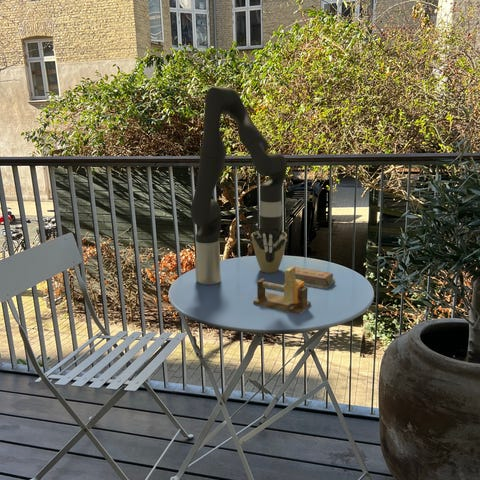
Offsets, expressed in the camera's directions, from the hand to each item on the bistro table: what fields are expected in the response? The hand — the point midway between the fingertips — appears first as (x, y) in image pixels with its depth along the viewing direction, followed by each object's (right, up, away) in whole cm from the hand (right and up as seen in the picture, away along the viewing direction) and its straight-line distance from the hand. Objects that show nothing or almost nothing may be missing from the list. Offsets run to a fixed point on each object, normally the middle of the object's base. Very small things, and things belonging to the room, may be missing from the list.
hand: (269, 261), depth 158 cm
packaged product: (+17, -10, +23) cm, 30 cm away
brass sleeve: (+8, -13, -1) cm, 15 cm away
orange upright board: (+10, -13, -2) cm, 17 cm away
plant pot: (+2, -6, +36) cm, 37 cm away
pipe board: (+4, -15, +2) cm, 16 cm away
